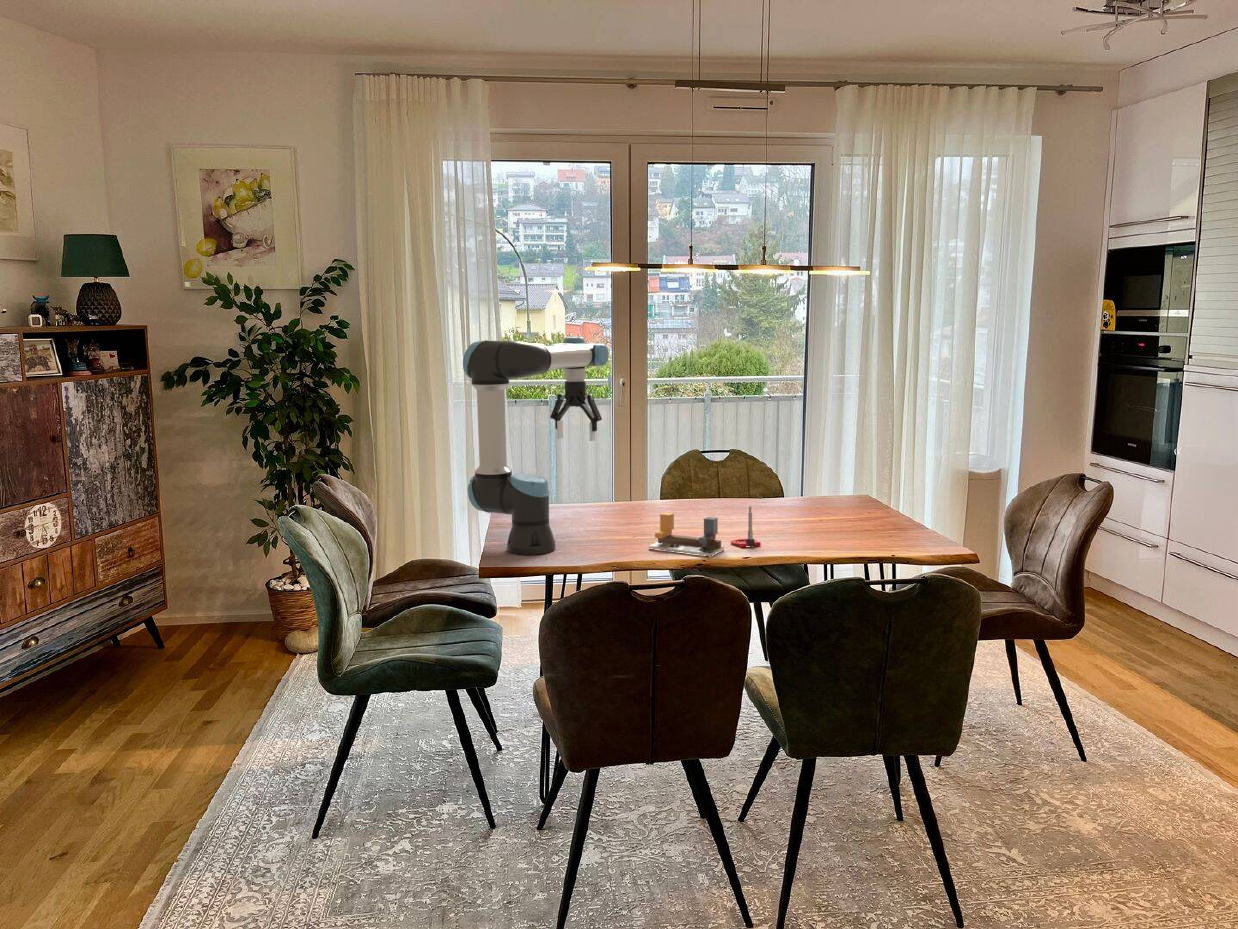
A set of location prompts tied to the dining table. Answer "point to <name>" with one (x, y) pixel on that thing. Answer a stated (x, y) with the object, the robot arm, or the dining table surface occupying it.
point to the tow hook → (750, 540)
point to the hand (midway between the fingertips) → (576, 439)
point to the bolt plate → (687, 545)
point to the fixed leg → (709, 531)
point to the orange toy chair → (665, 526)
